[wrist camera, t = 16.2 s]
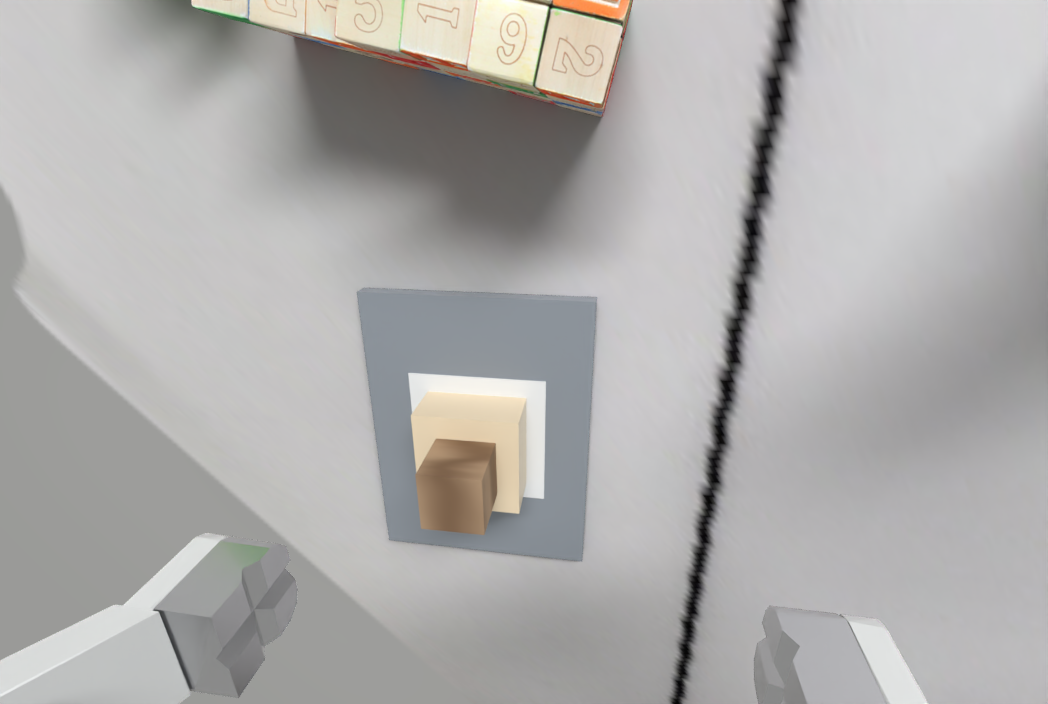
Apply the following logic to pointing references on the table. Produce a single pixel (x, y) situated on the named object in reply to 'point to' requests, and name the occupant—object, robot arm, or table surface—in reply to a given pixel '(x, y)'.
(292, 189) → the table surface
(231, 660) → the robot arm
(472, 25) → the stack of blocks
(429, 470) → the walnut cube
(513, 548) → the board
